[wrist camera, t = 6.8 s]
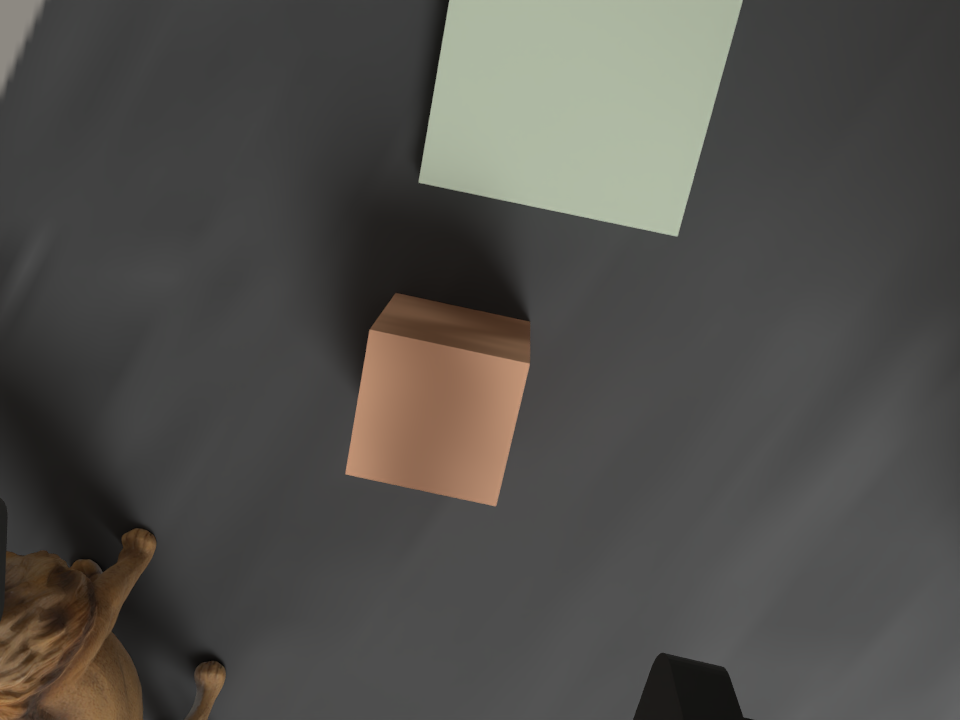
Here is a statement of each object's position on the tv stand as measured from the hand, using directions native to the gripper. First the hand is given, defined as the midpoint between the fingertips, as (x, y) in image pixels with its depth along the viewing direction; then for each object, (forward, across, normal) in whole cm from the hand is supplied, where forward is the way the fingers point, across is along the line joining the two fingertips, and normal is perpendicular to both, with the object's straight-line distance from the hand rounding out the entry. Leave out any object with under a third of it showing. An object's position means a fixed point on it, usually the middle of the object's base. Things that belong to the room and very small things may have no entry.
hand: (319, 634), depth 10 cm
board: (+17, -2, -11) cm, 20 cm away
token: (+17, 0, +2) cm, 17 cm away
